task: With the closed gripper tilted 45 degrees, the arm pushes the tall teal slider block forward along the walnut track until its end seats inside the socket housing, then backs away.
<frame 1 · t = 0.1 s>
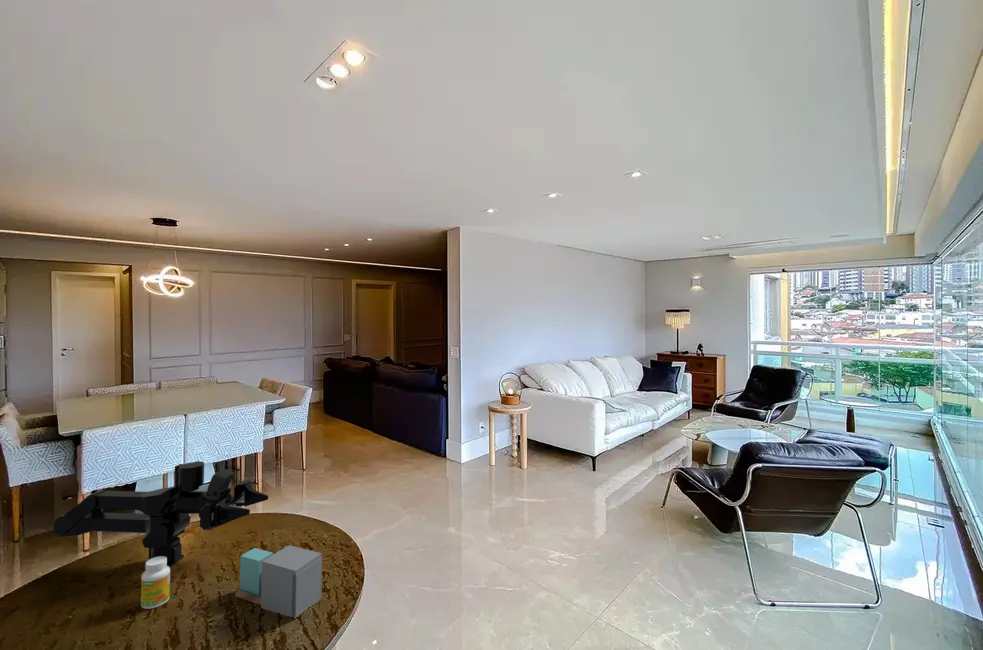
hand: (259, 504, 118), 17 cm above the table, tool horizontal, fingers open, 9 cm apart
supplement bottle: (155, 602, 102), on the table
track: (260, 593, 106), on the table
socket: (291, 602, 103), on the table
slider: (259, 573, 107), point 5 cm above the table, slide at 0.0 cm
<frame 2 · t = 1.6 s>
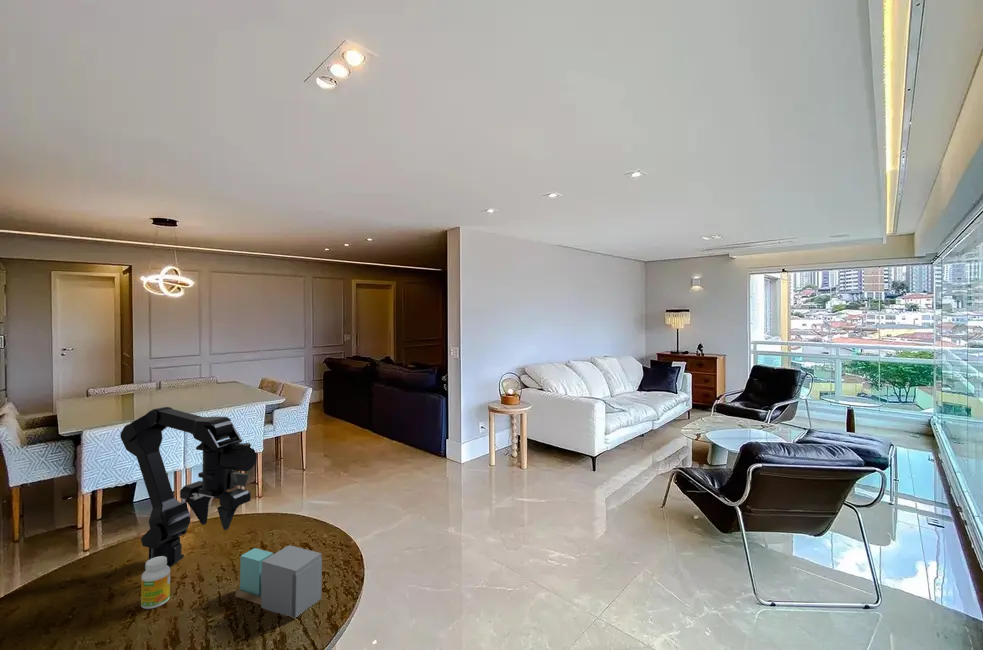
hand: (215, 526, 114), 12 cm above the table, tool pointing down, fingers open, 8 cm apart
nothing on the table moved.
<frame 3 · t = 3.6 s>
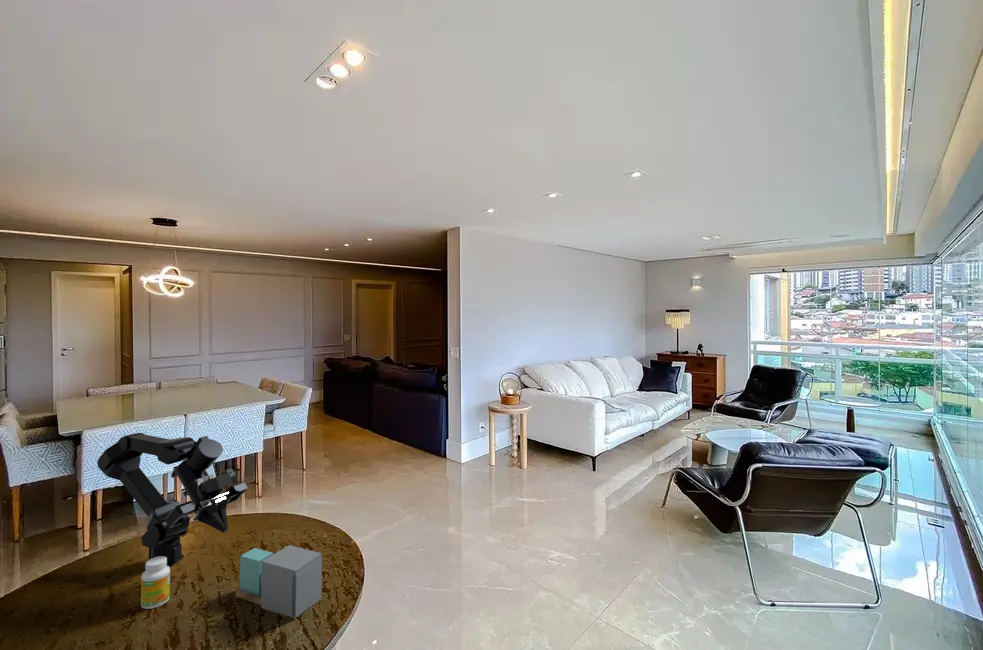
hand: (225, 531, 111), 13 cm above the table, tool tilted 45°, fingers closed
nothing on the table moved.
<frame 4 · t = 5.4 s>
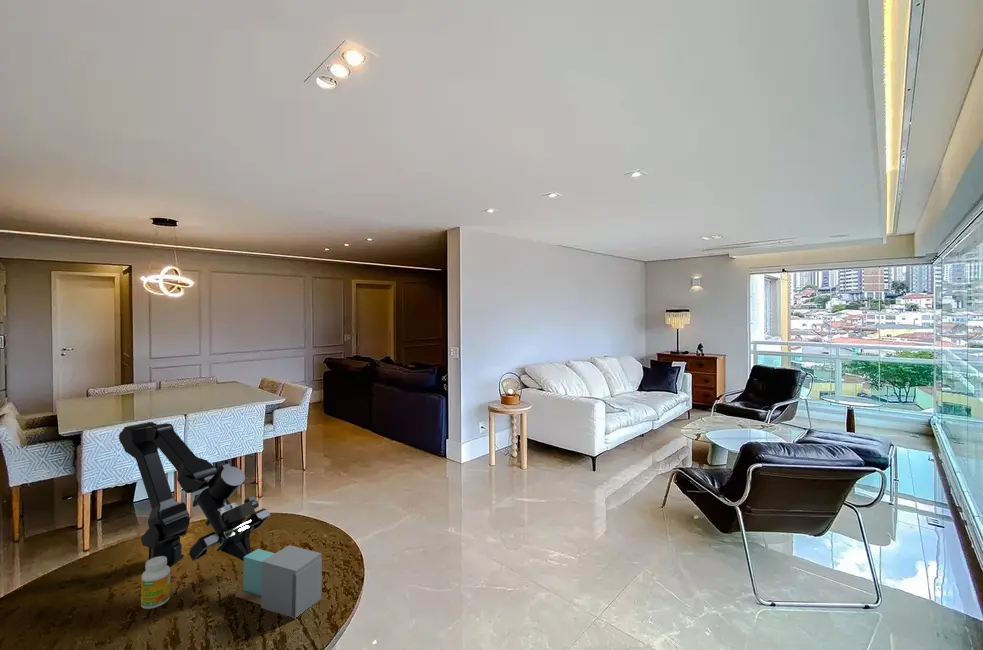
hand: (250, 561, 108), 7 cm above the table, tool tilted 45°, fingers closed, pressing on slider
slider: (262, 574, 106), point 5 cm above the table, slide at 1.1 cm, touching gripper
everything else where it was.
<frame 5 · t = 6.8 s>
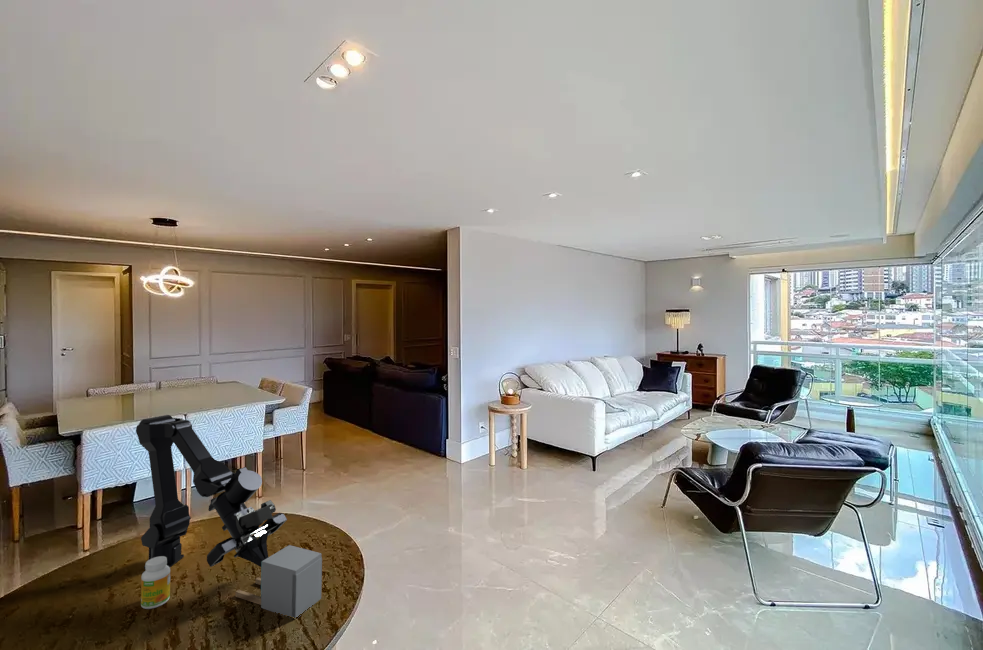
hand: (267, 567, 106), 7 cm above the table, tool tilted 45°, fingers closed
slider: (280, 579, 104), point 5 cm above the table, slide at 6.7 cm
everything else where it was.
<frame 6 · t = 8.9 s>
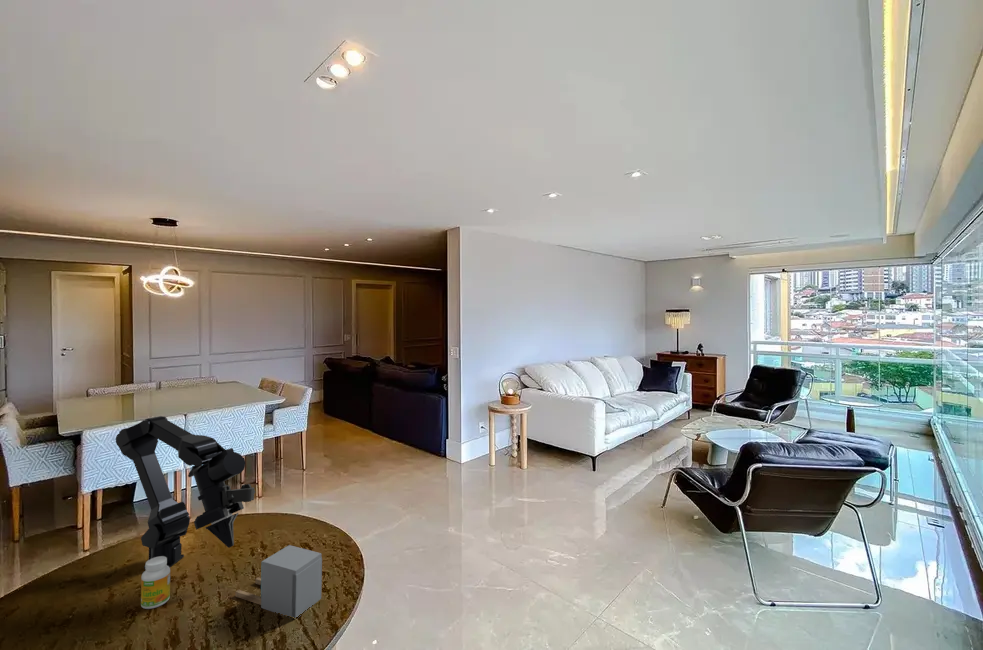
hand: (231, 546, 110), 9 cm above the table, tool tilted 25°, fingers closed
nothing on the table moved.
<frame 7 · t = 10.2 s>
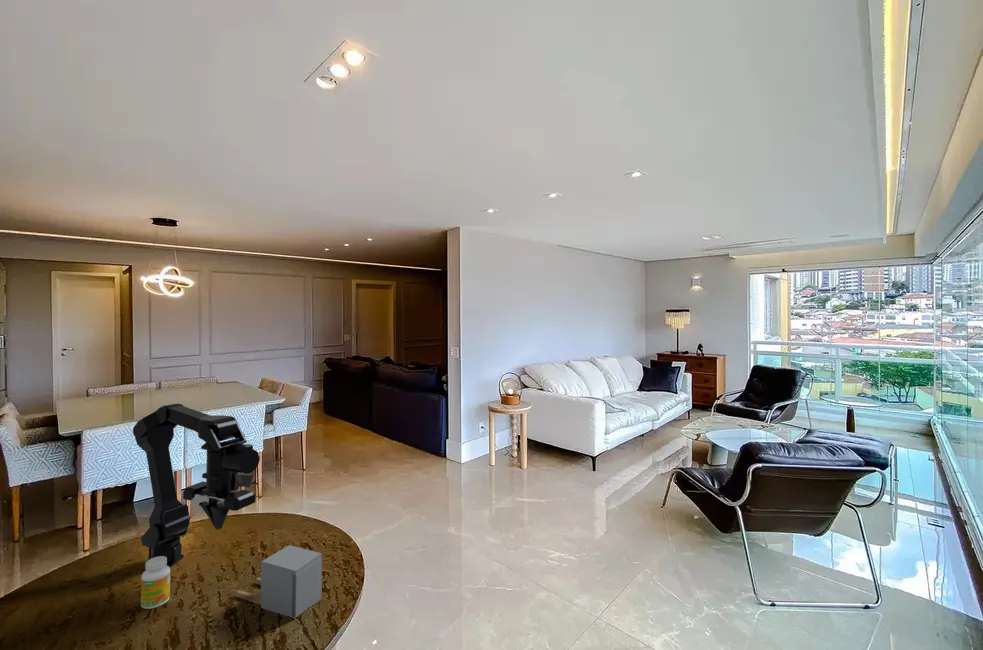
hand: (218, 528, 111), 13 cm above the table, tool pointing down, fingers closed
nothing on the table moved.
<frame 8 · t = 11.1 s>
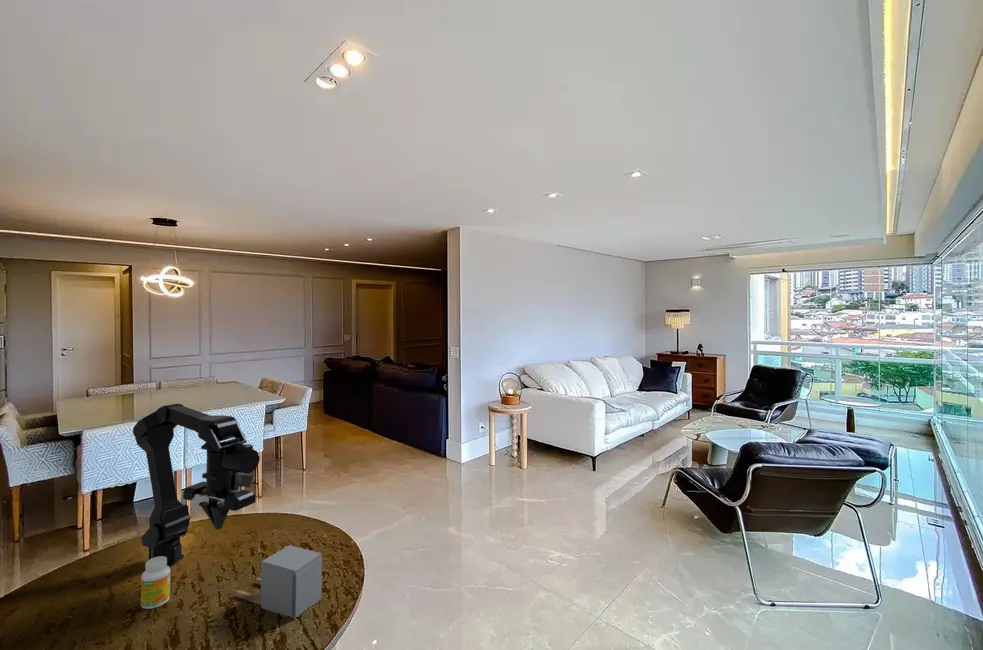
hand: (218, 528, 111), 13 cm above the table, tool pointing down, fingers closed
nothing on the table moved.
at the end: slider slide at 6.7 cm; slider 4.3 cm from the socket (horizontally) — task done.
